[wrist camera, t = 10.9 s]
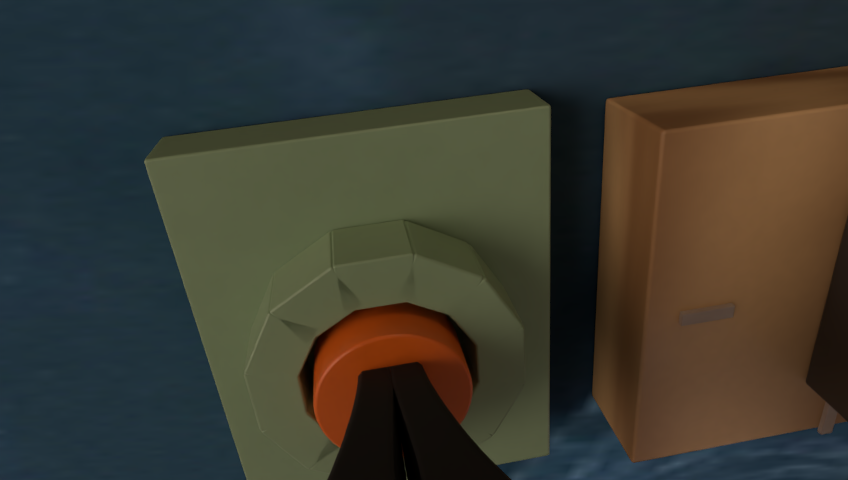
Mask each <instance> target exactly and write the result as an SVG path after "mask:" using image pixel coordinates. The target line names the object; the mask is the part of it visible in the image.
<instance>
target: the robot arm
mask: <svg viewBox="0 0 848 480" xmlns="http://www.w3.org/2000/svg"><path fill="white" fill-rule="evenodd" d="M390 370H391V372H390ZM391 377H392V378H391ZM401 443H402V444H401ZM403 456H404V457H403ZM404 463H405V464H404ZM405 469H406V470H405ZM406 475H407V478H406ZM327 480H511V479H510V478H509V477H508V476H507V475H506V474H505V473H504V472H503V471H502V470H501V469H500V468H499V467H498V466H497V465H496V464H495V463H494V462H493V461H492V460H491V459H490V458H489V457H488V456H487V455H486V454H485V453H484V452H483V451H482V450H481V449H480V447H479V446H478V445H477V444H476V443H475V442H474V441H473V439H472V438H471V437H470V436H469V435H468V434H467V432H466V431H465V430H464V429H463V428H462V426H461V425H460V424H459V422H458V421H457V420H456V418H455V417H454V416H453V415H452V413H451V412H450V411H449V409H448V408H447V407H446V405H445V404H444V402H443V401H442V399H441V398H440V396H439V395H438V393H437V392H436V390H435V389H434V387H433V385H432V384H431V382H430V380H429V378H428V376H427V374H426V372H425V370H424V368H423V365H421V364H420V363H418V362H412V363H407V364H401V365H395V366H390V367H384V368H378V369H372V370H366V371H362V372H361V373H360V374H359V376H358V384H357V390H356V396H355V400H354V404H353V408H352V412H351V416H350V419H349V422H348V426H347V429H346V432H345V435H344V438H343V441H342V444H341V447H340V449H339V452H338V454H337V457H336V459H335V462H334V465H333V467H332V470H331V472H330V475H329V477H328V479H327Z"/></svg>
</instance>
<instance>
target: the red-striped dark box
mask: <svg viewBox="0 0 848 480" xmlns="http://www.w3.org/2000/svg"><path fill="white" fill-rule="evenodd" d="M806 384H807V385H808V386H809V387H810V388H811V389H812V390H814V391H815V392H816V393H817V394H818V395H819V396H820V397H821V398H822V399H823V400H824V401H826V402H827V403H828V404H829V405H830V406H831V407H832V408H833V409H834V410H835V411H836V412H837V413H839V414H840V415H841V416H842V417H843V418H844V419H845V420H846V421H847V422H848V216H847V220H846V224H845V228H844V232H843V236H842V240H841V244H840V248H839V252H838V256H837V260H836V263H835V267H834V271H833V275H832V279H831V283H830V287H829V291H828V295H827V299H826V303H825V307H824V311H823V315H822V319H821V322H820V326H819V330H818V334H817V338H816V342H815V346H814V350H813V354H812V358H811V362H810V366H809V370H808V374H807V378H806Z"/></svg>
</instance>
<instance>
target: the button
mask: <svg viewBox="0 0 848 480" xmlns="http://www.w3.org/2000/svg"><path fill="white" fill-rule="evenodd" d="M412 362H418V363H420V364H421V365H423V368H424V370H425V372H426V374H427V376H428V378H429V380H430V382H431V384H432V385H433V387H434V389H435V390H436V392H437V393H438V395H439V396H440V398H441V399H442V401H443V402H444V404H445V405H446V407H447V408H448V409H449V411H450V412H451V413H452V415H453V416H454V417H455V418H456V420H457V421H458V422H459V424H461V423H462V421H463V420H464V418H465V416H466V414H467V412H468V410H469V407H470V404H471V400H472V394H473V384H472V377H471V374H470V371H469V368H468V365H467V363H466V360H465V357H464V354H463V351H462V348H461V345H460V342H459V339H458V336H457V333H456V330H455V328H454V326H453V324H452V323H451V321H450V320H449V319H448V317H447V316H446V315H445V314H444V313H440V312H437V311H434V310H431V309H427V308H424V307H421V306H418V305H415V304H411V303H408V302H404V303H398V304H392V305H386V306H380V307H373V308H367V309H361V310H355V311H354V312H352V313H351V314H349V315H348V316H346V317H345V318H344V319H342V320H341V321H339V322H338V323H336V324H335V325H334V326H332V327H331V328H329V329H328V330H326V331H325V332H324V333H322V334H321V335H320V336H319V337H318V340H317V343H316V346H315V351H314V387H313V407H314V414H315V417H316V420H317V422H318V424H319V426H320V428H321V430H322V431H323V432H324V434H325V435H326V436H327V437H328V438H329V439H330V440H331V441H332V442H333V443H334V444H335V445H337V446H338V447H341V444H342V441H343V438H344V435H345V432H346V429H347V426H348V422H349V419H350V416H351V412H352V408H353V404H354V400H355V396H356V390H357V384H358V376H359V374H360V373H361V372H362V371H366V370H372V369H378V368H384V367H390V366H395V365H401V364H407V363H412ZM390 372H391V370H390ZM391 378H392V377H391ZM401 444H402V443H401ZM403 457H404V456H403Z"/></svg>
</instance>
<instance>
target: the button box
mask: <svg viewBox="0 0 848 480" xmlns="http://www.w3.org/2000/svg"><path fill="white" fill-rule="evenodd" d="M144 163H145V166H146V169H147V172H148V175H149V178H150V181H151V184H152V187H153V191H154V194H155V197H156V200H157V203H158V206H159V209H160V212H161V215H162V218H163V222H164V225H165V228H166V231H167V234H168V237H169V240H170V243H171V246H172V250H173V253H174V256H175V259H176V262H177V265H178V268H179V271H180V274H181V277H182V281H183V284H184V287H185V290H186V293H187V296H188V299H189V302H190V305H191V308H192V312H193V315H194V318H195V321H196V324H197V327H198V330H199V333H200V336H201V339H202V343H203V346H204V349H205V352H206V355H207V358H208V361H209V364H210V367H211V370H212V374H213V377H214V380H215V383H216V386H217V389H218V392H219V395H220V398H221V401H222V405H223V408H224V411H225V414H226V417H227V420H228V423H229V426H230V429H231V432H232V436H233V439H234V442H235V445H236V448H237V451H238V454H239V457H240V460H241V463H242V467H243V470H244V473H245V476H246V479H247V480H327V479H328V477H329V475H330V472H331V470H332V467H333V465H334V462H335V459H336V457H337V454H338V452H339V449H340V447H338V446H337V445H335V444H334V443H333V442H332V441H331V440H330V439H329V438H328V437H327V436H326V435H325V434H324V432H323V431H322V430H321V428H320V426H319V424H318V422H317V420H316V417H315V414H314V407H313V387H314V351H315V346H316V343H317V340H318V337H319V336H320V335H321V334H322V333H324V332H325V331H326V330H328V329H329V328H331V327H332V326H334V325H335V324H336V323H338V322H339V321H341V320H342V319H344V318H345V317H346V316H348V315H349V314H351V313H352V312H354V311H355V310H361V309H367V308H373V307H380V306H386V305H392V304H398V303H404V302H408V303H411V304H415V305H418V306H421V307H424V308H427V309H431V310H434V311H437V312H440V313H444V314H445V315H446V316H447V317H448V319H449V320H450V321H451V323H452V324H453V326H454V328H455V330H456V333H457V336H458V339H459V342H460V345H461V348H462V351H463V354H464V357H465V360H466V363H467V365H468V368H469V371H470V374H471V377H472V384H473V394H472V400H471V404H470V407H469V410H468V412H467V414H466V416H465V418H464V420H463V421H462V423H461V424H460V425H461V426H462V428H463V429H464V430H465V431H466V432H467V434H468V435H469V436H470V437H471V438H472V439H473V441H474V442H475V443H476V444H477V445H478V446H479V447H480V449H481V450H482V451H483V452H484V453H485V454H486V455H487V456H488V457H489V458H490V459H491V460H492V461H493V462H494V463H495V464H496V465H499V464H504V463H509V462H514V461H520V460H525V459H530V458H535V457H541V456H546V455H549V425H550V204H551V106H550V105H549V104H548V103H546V102H545V101H544V100H542V99H541V98H539V97H538V96H537V95H535V94H534V93H533V92H531V91H530V90H528V89H526V90H518V91H511V92H503V93H495V94H488V95H480V96H473V97H465V98H457V99H450V100H442V101H435V102H427V103H420V104H412V105H404V106H397V107H389V108H382V109H374V110H366V111H359V112H351V113H344V114H336V115H328V116H321V117H313V118H306V119H298V120H290V121H283V122H275V123H268V124H260V125H252V126H245V127H237V128H230V129H222V130H214V131H207V132H199V133H192V134H184V135H176V136H169V137H163V138H161V140H160V141H159V142H158V144H157V145H156V146H155V147H154V149H153V150H152V151H151V152H150V154H149V155H148V156H147V158H146V159H145V161H144ZM404 464H405V463H404ZM405 470H406V469H405ZM406 478H407V475H406Z"/></svg>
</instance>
